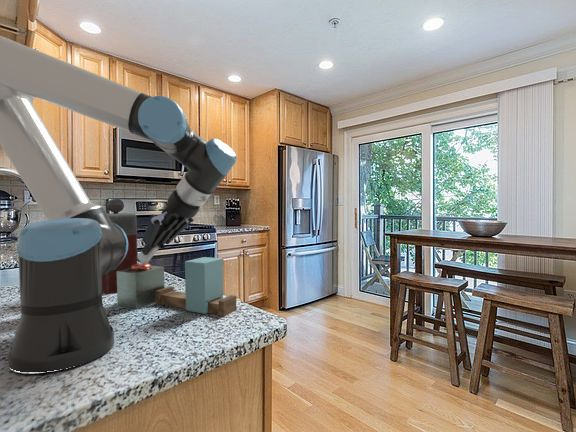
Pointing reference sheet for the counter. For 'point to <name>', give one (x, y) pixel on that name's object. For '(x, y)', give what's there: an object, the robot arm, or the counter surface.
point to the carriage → (203, 283)
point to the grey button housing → (139, 286)
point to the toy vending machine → (130, 228)
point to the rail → (179, 300)
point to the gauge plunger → (140, 267)
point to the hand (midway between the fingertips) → (142, 260)
